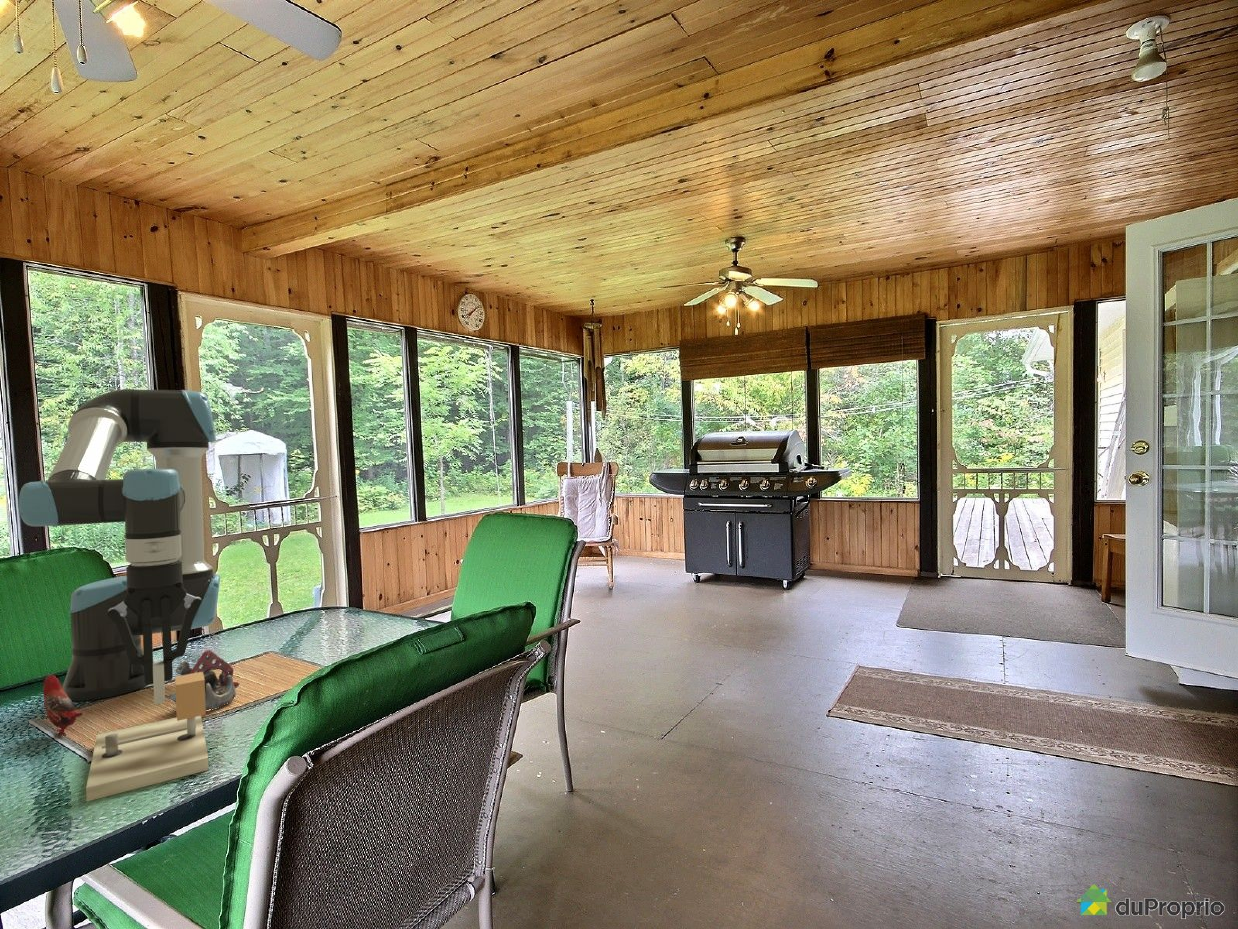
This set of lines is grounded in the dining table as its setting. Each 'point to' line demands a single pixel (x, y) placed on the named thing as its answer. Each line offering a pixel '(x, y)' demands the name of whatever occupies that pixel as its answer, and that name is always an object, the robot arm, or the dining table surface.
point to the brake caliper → (212, 679)
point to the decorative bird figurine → (58, 704)
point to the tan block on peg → (190, 698)
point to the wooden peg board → (145, 756)
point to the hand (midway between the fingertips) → (159, 701)
